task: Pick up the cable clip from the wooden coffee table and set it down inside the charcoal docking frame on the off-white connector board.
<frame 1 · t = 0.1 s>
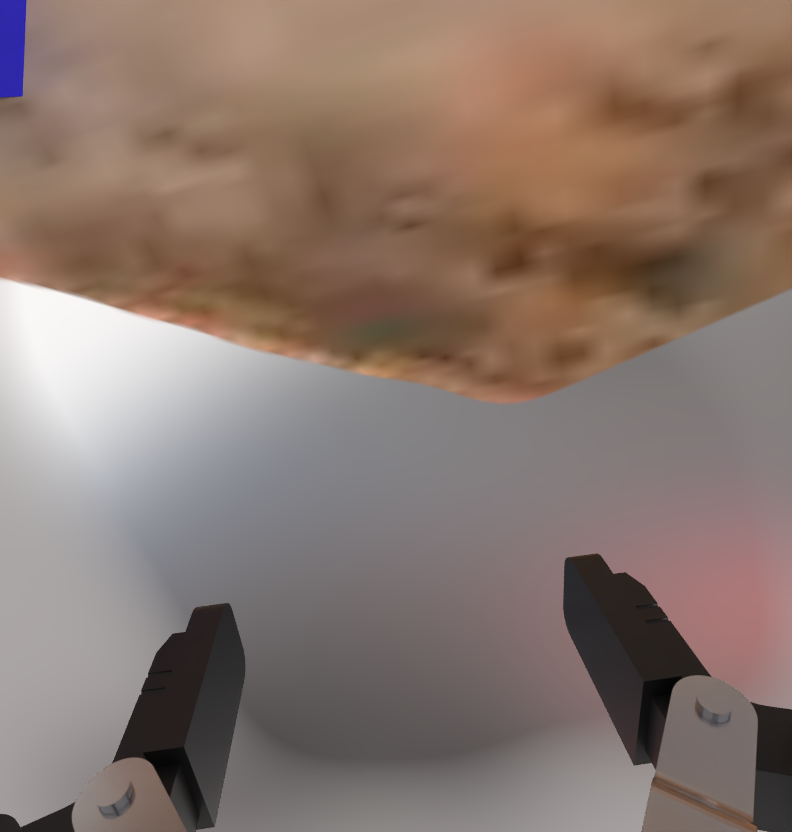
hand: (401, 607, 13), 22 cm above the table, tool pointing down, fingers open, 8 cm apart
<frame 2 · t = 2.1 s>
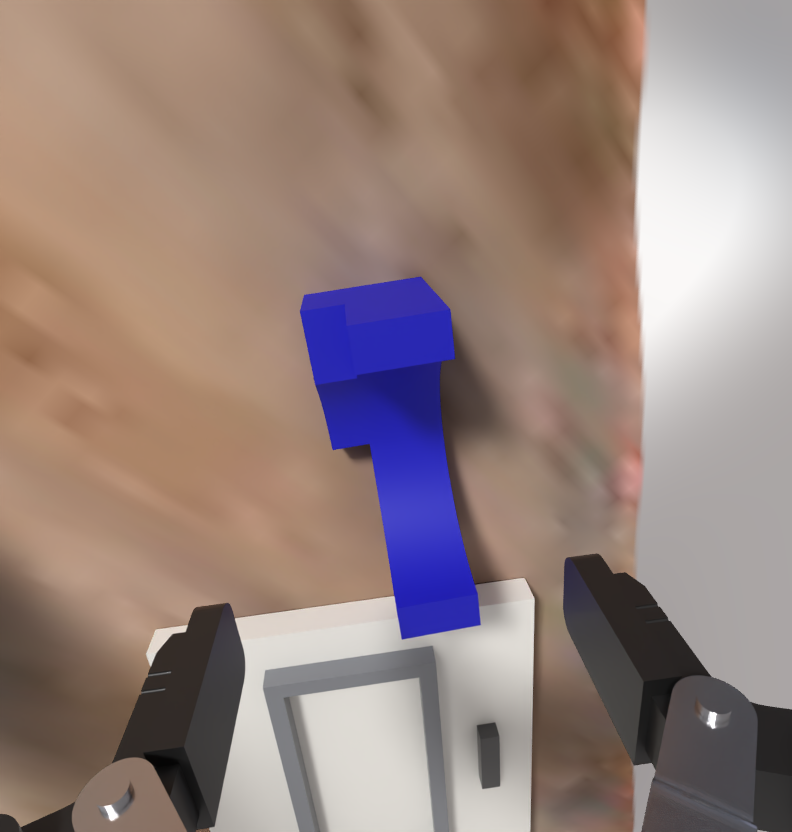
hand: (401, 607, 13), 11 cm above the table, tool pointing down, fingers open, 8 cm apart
cable clip: (384, 423, 24), on the table
connector board: (366, 742, 31), on the table
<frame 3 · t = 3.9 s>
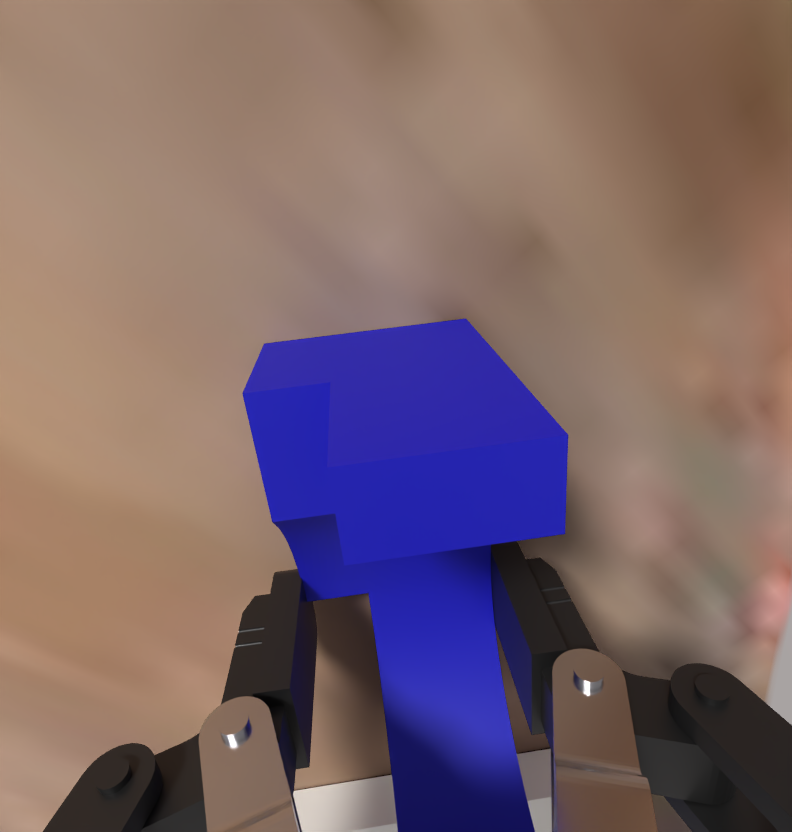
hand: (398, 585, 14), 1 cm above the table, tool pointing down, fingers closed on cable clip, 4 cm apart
cable clip: (392, 545, 15), on the table, touching gripper
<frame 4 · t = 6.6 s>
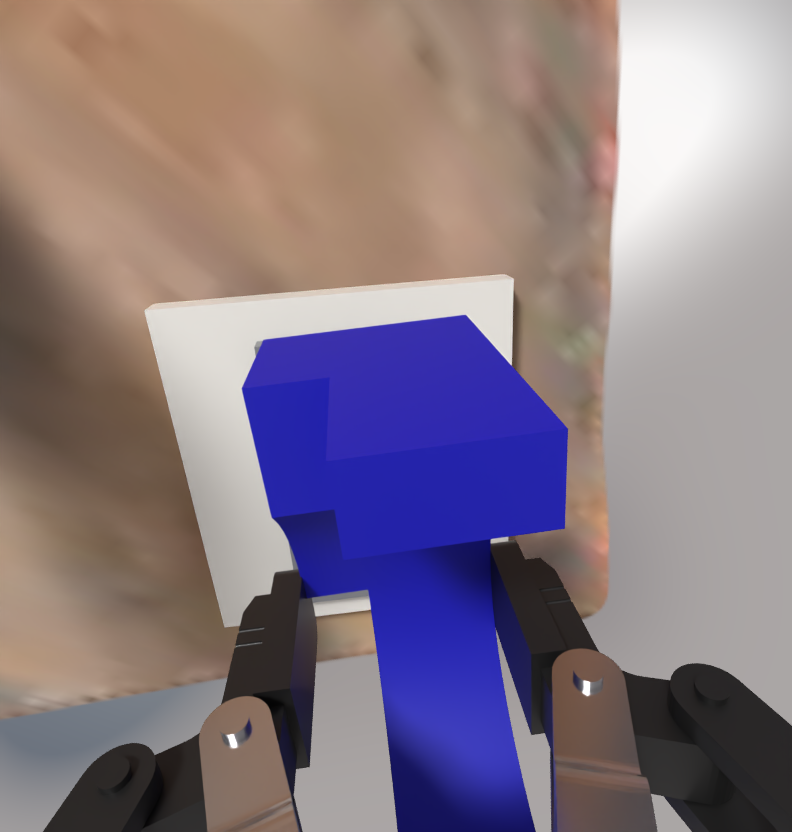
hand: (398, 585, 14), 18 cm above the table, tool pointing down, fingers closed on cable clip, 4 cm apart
cable clip: (392, 542, 15), point 16 cm above the table, touching gripper
connector board: (352, 460, 32), on the table
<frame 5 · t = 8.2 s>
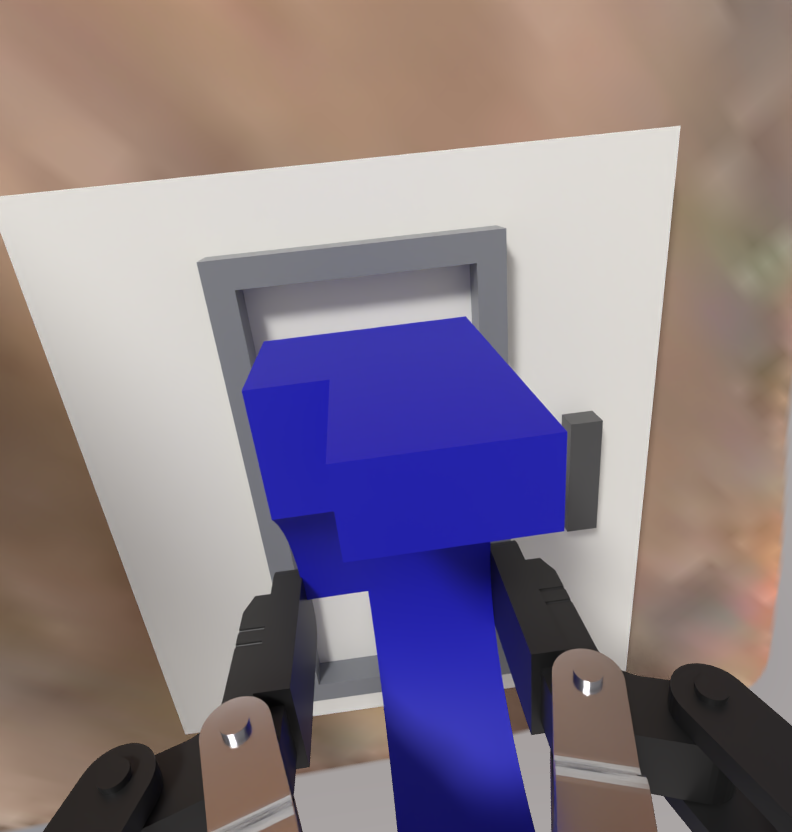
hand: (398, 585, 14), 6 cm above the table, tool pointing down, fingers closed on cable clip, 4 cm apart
cable clip: (392, 543, 15), point 5 cm above the table, touching gripper
connector board: (380, 469, 20), on the table
when the fingers open (3 cm above the table, at t = 9.5 s): cable clip stays where it is, resting on connector board.
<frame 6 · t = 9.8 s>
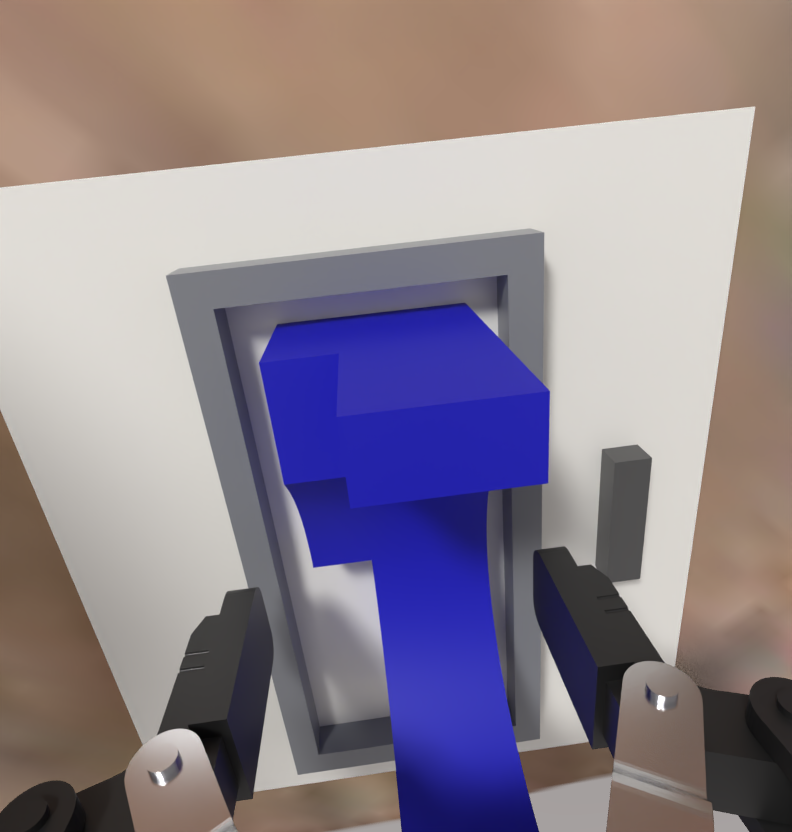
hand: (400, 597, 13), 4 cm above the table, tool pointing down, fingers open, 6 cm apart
cable clip: (395, 518, 16), point 1 cm above the table, touching connector board
connector board: (388, 508, 17), on the table
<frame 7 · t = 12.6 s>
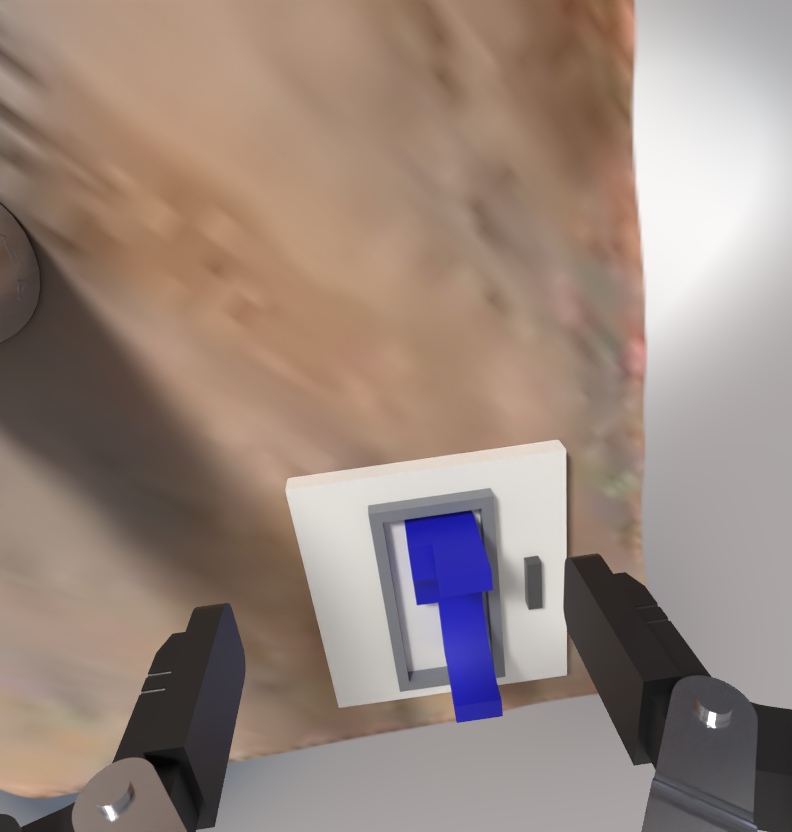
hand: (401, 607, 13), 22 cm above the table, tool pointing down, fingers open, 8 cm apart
cable clip: (446, 583, 39), point 1 cm above the table, touching connector board
connector board: (438, 578, 40), on the table
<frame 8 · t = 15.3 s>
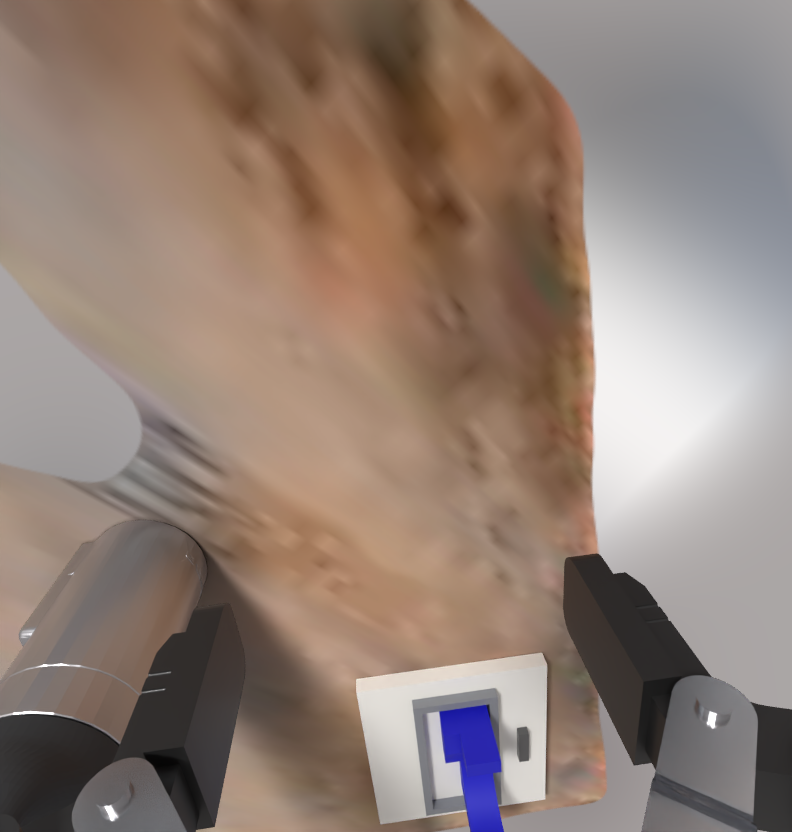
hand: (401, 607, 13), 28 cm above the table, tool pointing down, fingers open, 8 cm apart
cable clip: (464, 743, 55), point 1 cm above the table, touching connector board
connector board: (455, 736, 57), on the table
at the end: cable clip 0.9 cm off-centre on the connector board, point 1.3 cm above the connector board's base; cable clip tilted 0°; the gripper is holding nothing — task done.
